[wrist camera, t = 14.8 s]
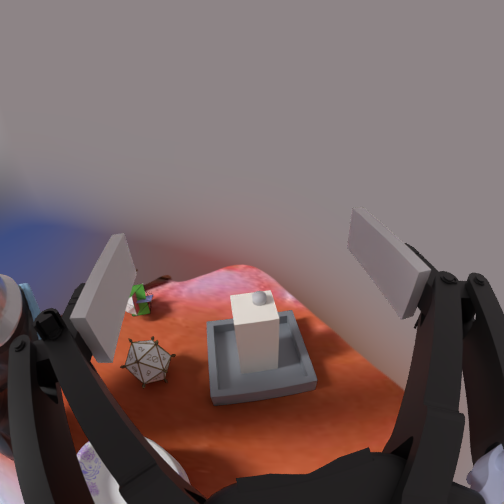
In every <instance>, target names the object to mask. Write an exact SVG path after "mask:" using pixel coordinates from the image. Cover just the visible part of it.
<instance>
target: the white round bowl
mask: <svg viewBox="0 0 504 504" xmlns="http://www.w3.org/2000/svg"><path fill="white" fill-rule="evenodd" d="M145 439H146V440H147V441H148V442H149V443H150V444H151V446H152V447H153V448H154V449H155V450H156V451H157V452H158V453H159V455H160V456H161V457H162V458H163V459H164V460H165V461H166V462H167V463H168V464H169V465H170V466H171V467H172V468H173V469H174V470H175V471H176V472H177V473H178V474H179V475H180V476H181V477H182V478H183V479H184V480H185V481H186V482H188V483H189V484H190V482H189V479H188V476H187V474H186V472H185V470H184V469H183V468H182V466H181V465H180V464H179V463H178V461H177V460H176V459H175V458H174V457H172V456H171V455H170V454H169V453H168V452H167V451H166V450H164V449H163V448H162V447H161V446H159V445H158V444H157V443H155V442H154V441H152V440H150V439H148V438H146V437H145ZM77 458H78V461H79V464H80V467H81V470H82V473H83V475H84V478H85V481H86V483H87V486H88V488H89V491H90V493H91V496H92V498H93V500H94V503H95V504H127V503H126V502H125V500H124V499H123V498H122V496H121V495H120V492H119V485H118V483H117V481H116V480H115V479H114V477H113V476H112V475H111V473H110V472H109V470H108V469H107V468H106V466H105V465H104V463H103V462H102V460H101V459H100V457H99V456H98V454H97V453H96V451H95V450H94V448H93V446H92V445H91V443H90V442H89V441H88V442H87V443H86V444H85V445H84V446H83V447H82V448H81V449H80V450H79V452H78V453H77ZM190 485H191V484H190Z"/></svg>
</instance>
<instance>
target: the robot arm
mask: <svg viewBox="0 0 504 504" xmlns="http://www.w3.org/2000/svg"><path fill="white" fill-rule="evenodd" d="M347 248H348V249H349V251H350V252H351V253H352V254H353V256H354V257H355V258H356V259H357V261H358V262H359V263H360V265H361V266H362V267H363V268H364V270H365V271H366V272H367V274H368V275H369V276H370V277H371V279H372V280H373V281H374V283H375V284H376V285H377V287H378V288H379V289H380V291H381V292H382V293H383V295H384V296H385V298H386V299H387V300H388V302H389V303H390V304H391V306H392V307H393V309H394V310H395V311H396V313H397V314H398V316H399V317H400V319H406V318H409V317H412V316H413V315H414V313H415V311H416V308H417V307H418V308H419V309H420V310H421V313H420V315H419V318H418V320H417V322H416V324H415V326H414V328H415V329H416V327H417V333H416V340H415V346H414V351H413V356H412V362H411V366H410V371H409V376H408V380H407V384H406V388H405V392H404V396H403V400H402V403H401V407H400V410H399V414H398V417H397V420H396V424H395V427H394V430H393V433H392V435H391V437H390V439H389V441H388V442H387V444H386V445H385V447H384V449H383V451H382V452H370V449H369V447H368V448H365V449H363V450H360V451H357V452H354V453H351V454H348V455H345V456H342V457H339V458H337V459H336V460H334V461H332V462H330V463H329V464H327V465H325V466H323V467H321V468H319V469H317V470H315V471H313V472H311V473H309V474H266V475H259V476H251V477H243V478H236V481H237V483H235V484H232V485H229V486H227V487H225V488H223V489H221V490H219V491H218V492H216V493H215V494H213V495H212V496H211V497H210V498H209V499H207V498H205V497H204V496H203V495H202V494H201V493H200V492H198V491H197V490H196V489H195V488H194V487H193V486H191V485H190V484H189V483H188V482H186V481H185V480H184V479H183V478H182V477H181V476H180V475H179V474H178V473H177V472H176V471H175V470H174V469H173V468H172V467H171V466H170V465H169V464H168V463H167V462H166V461H165V460H164V459H163V458H162V457H161V456H160V455H159V453H158V452H157V451H156V450H155V449H154V448H153V447H152V446H151V444H150V443H149V442H148V441H147V440H146V439H145V437H144V436H143V435H142V434H141V433H140V431H139V430H138V429H137V428H136V426H135V425H134V424H133V423H132V421H131V420H130V419H129V418H128V416H127V415H126V414H125V412H124V411H123V410H122V408H121V407H120V405H119V404H118V403H117V401H116V400H115V398H114V397H113V395H112V394H111V393H110V391H109V390H108V388H107V387H106V385H105V384H104V382H103V380H102V379H101V377H100V376H99V374H98V373H97V371H96V369H95V368H94V366H93V365H92V363H91V362H90V361H91V357H92V355H93V356H94V358H95V359H96V361H97V362H98V363H113V358H114V354H115V349H116V345H117V341H118V337H119V333H120V329H121V325H122V321H123V318H124V314H125V310H126V307H127V303H128V300H129V296H130V293H131V290H132V287H133V283H134V280H135V277H136V274H137V273H136V270H135V267H134V264H133V261H132V258H131V255H130V251H129V248H128V244H127V241H126V238H125V234H124V233H122V234H115V235H112V236H111V238H110V240H109V241H108V243H107V245H106V247H105V248H104V250H103V252H102V254H101V256H100V258H99V259H98V261H97V263H96V265H95V267H94V269H93V270H92V273H91V274H90V276H89V278H88V280H87V282H86V283H82V284H80V285H79V287H78V288H77V289H76V290H75V291H74V293H73V295H72V297H71V299H70V301H69V303H68V305H67V307H66V309H65V311H64V313H63V315H62V317H61V316H60V314H59V312H58V311H57V310H56V309H53V308H50V309H46V310H44V311H42V312H41V311H40V309H39V307H38V304H37V302H36V300H35V297H34V295H33V293H32V290H31V288H30V286H29V284H27V283H24V284H20V285H17V284H16V283H15V281H14V280H13V279H12V278H10V277H8V276H6V275H2V274H0V453H1V454H3V455H5V456H6V457H8V458H9V459H11V460H14V462H15V467H16V472H17V476H18V481H19V485H20V489H21V492H22V496H23V500H24V503H25V504H95V503H94V500H93V498H92V496H91V493H90V491H89V488H88V486H87V483H86V481H85V478H84V475H83V473H82V470H81V467H80V464H79V461H78V458H77V455H76V451H75V448H74V445H73V441H72V437H71V434H70V430H69V426H68V422H67V417H66V413H65V408H64V403H63V398H62V392H61V388H62V390H63V393H64V395H65V397H66V399H67V401H68V403H69V405H70V407H71V409H72V411H73V413H74V415H75V417H76V419H77V421H78V422H79V424H80V426H81V428H82V430H83V431H84V433H85V435H86V437H87V438H88V440H89V442H90V443H91V445H92V446H93V448H94V450H95V451H96V453H97V454H98V456H99V457H100V459H101V460H102V462H103V463H104V465H105V466H106V468H107V469H108V470H109V472H110V473H111V475H112V476H113V477H114V479H115V480H116V481H117V483H118V485H119V492H120V495H121V496H122V498H123V499H124V500H125V502H126V503H127V504H501V503H503V502H504V314H503V311H502V309H501V307H500V305H499V302H498V300H497V298H496V296H495V294H494V292H493V290H492V288H491V286H490V284H489V282H488V281H487V279H486V278H485V277H484V276H483V275H481V274H478V273H471V274H470V275H469V277H468V279H467V281H458V279H457V278H456V277H455V276H454V275H452V274H451V273H448V272H445V271H440V272H438V271H437V270H436V269H435V268H434V267H433V266H432V265H431V264H430V263H429V262H428V261H427V260H426V259H425V258H424V257H423V256H422V255H421V254H419V252H418V251H417V250H416V249H415V248H414V247H412V246H410V245H408V244H407V243H403V242H402V241H401V240H400V239H399V238H398V237H397V236H396V235H395V234H394V233H392V232H391V231H390V230H389V229H388V228H387V227H386V226H385V225H383V224H382V223H381V222H380V221H379V220H378V219H377V218H375V217H374V216H373V215H372V214H371V213H370V212H368V211H367V210H366V209H365V208H364V207H357V208H352V214H351V222H350V230H349V238H348V245H347ZM475 314H476V319H474V315H475ZM462 371H463V377H464V383H465V390H466V397H467V405H468V416H469V430H470V447H471V455H472V462H473V466H474V467H473V469H472V471H470V472H469V473H468V475H467V479H466V480H467V483H468V484H470V485H471V488H467V487H465V486H462V485H460V484H457V483H455V482H453V477H454V474H455V470H456V465H457V461H458V457H459V452H460V448H461V443H462V438H463V431H464V425H465V416H464V414H462V413H459V411H458V409H459V400H460V390H461V378H462Z"/></svg>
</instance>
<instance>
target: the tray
mask: <svg viewBox="0 0 504 504" xmlns="http://www.w3.org/2000/svg"><path fill="white" fill-rule="evenodd" d="M278 316H279V351H278V368H277V369H271V370H265V371H259V372H252V373H244V374H241V369H240V362H239V356H238V349H237V342H236V335H235V328H234V320H233V319H226V320H218V321H209V322H207V343H208V363H209V380H210V394H211V399H212V402H213V405H214V406H217V405H227V404H236V403H244V402H251V401H258V400H264V399H270V398H276V397H282V396H287V395H292V394H297V393H302V392H306V391H311V390H315V388H316V384H317V381H318V380H317V377H316V374H315V372H314V369H313V366H312V363H311V360H310V358H309V355H308V352H307V349H306V347H305V344H304V341H303V339H302V336H301V333H300V330H299V328H298V325H297V322H296V320H295V317H294V314H293V311H292V310H290V311H283V312H278Z"/></svg>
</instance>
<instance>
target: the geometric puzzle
mask: <svg viewBox="0 0 504 504" xmlns="http://www.w3.org/2000/svg"><path fill="white" fill-rule="evenodd" d="M144 289H145V288H143V284H140V285H134V286H133V287H132V290H131V293H130V296H129V300H128V303H127V307H126V311H127V312H128V313H131V314H132V316H137V315H143V314H149V313H150V312H151V310H150V311H149V307H148V304H149V303H150V307H151V305H152V304H151V299H153V298H152V297H153V294H152V295H150V296H146V295H145V292H144V291H146V290H144ZM146 293H147V291H146ZM148 293H149V292H148ZM150 294H151V293H150ZM147 295H148V294H147ZM149 301H150V302H149ZM147 302H149V303H147ZM150 314H151V313H150Z"/></svg>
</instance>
